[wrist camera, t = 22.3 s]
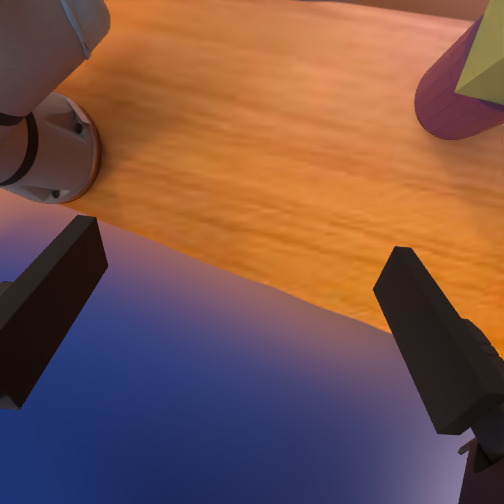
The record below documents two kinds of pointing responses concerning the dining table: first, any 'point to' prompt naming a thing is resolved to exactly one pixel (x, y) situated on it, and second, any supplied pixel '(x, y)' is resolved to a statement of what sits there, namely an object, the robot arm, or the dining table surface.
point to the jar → (454, 96)
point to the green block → (486, 58)
